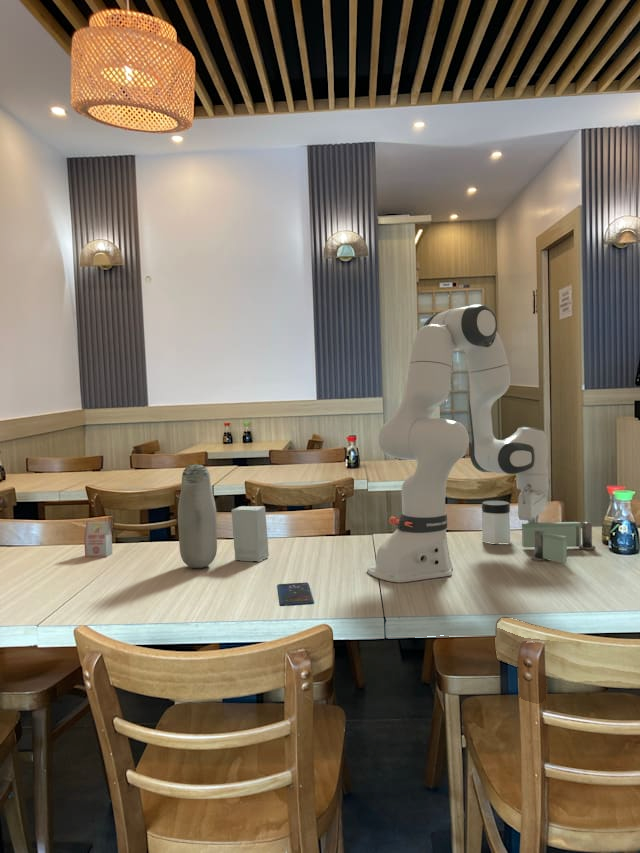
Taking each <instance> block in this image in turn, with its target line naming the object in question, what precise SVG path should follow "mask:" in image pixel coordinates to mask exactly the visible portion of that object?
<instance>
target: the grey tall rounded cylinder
mask: <svg viewBox="0 0 640 853" xmlns="http://www.w3.org/2000/svg"><path fill="white" fill-rule="evenodd" d="M180 486H181V487H180V488H181V489H180V495H179V500H178V505H177V526H178V539H179V540H178V544H179V554H180V557H181V560H182V562H183V563H184V564H185V565H186V566H187V567H189V568H193V569H203V568H206V567H208V566H210V565H211V564H212V563H213V561H214V560H215V558H216V556H217V551H218V537H217V536H218V534H217V533H218V531H217V528H218V526H217V525H218V524H217V521H218V520H217V508H216V501H215V496H214V493H213V489H212V482H211V474H210V472H209V470H208V468H207V467H206V466H204V465H202V464H195V463H194V464H190V465H188V466H187V467H185V469H183V472H182V474H181V485H180Z"/></svg>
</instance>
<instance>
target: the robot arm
mask: <svg viewBox="0 0 640 853" xmlns="http://www.w3.org/2000/svg"><path fill="white" fill-rule="evenodd" d="M497 330H498V323H497V319H496V316H495V314H494V312H493V311H492V310H491V309H490V308H489V306H487V305H485V304H484V305H483V304H472V305H469V306H462V307H456V308H450V309H447V310H445V311H441V312H438V313H436V314H433V315H431V316H430V317H428V318H427V320H425V322H424V325H423V326H422V327H420V328H419V329H418V330H417V333H416V334H415V337H414V339H413V340H414V341H413V344H412V347H411V352H410V358H409V366H408V373H407V380H406V385H405V386H406V387H405V392H404V394H403V398H402V399H401V402H400V404H399V407H398V408H397V409H396V411H395V413H394V414H393V416H392V417H391V418H390V419H389V420H387V421H386V422H385V423H384V424H383V425H382V426H381V428H380V430H379V434H378V444H379V447H380V450H381V451H382V452H383V454H385V455H386V456H389V457H391V458H394V459H398V460H406V461H416V462H417V463H416V467H415V471H414V473H413V475H411V476H409V477H407V479H405V480H404V481H403V484H402V485H401V511H402V512H401V514H400V516H399V518H398V517H396V516H390V518H389V520H388V521H389V524H390V525H394V526H396V530H395V531H394V532H393V533H392V534H391V535H389V537H387V539H386V540H385V541H384V542H383V543H382V544H380V546H378V548H377V553H376V559H375V560H376V561H375V564H373V565H369V566H367V570H366V571H367V573H368V574H369V575H371V576H373V577H375V578H377V579H380V580H384V581H387V582H393V583H408V582H415V581H420V580H422V581H423V580H428V579H434V578H435V579H436V578H443V577H448V576H449V577H451V576H452V575H453V574H452V573H453V568H454V567H453V564H452V560H451V556H450V550H449V545H448V544H449V543H448V537H447V529H448V515H447V513H446V487H447V481H448V479H449V478H448V477H449V475H450V472H451V471H452V469H453V467H454V466H455V465H456V464H457V462H458V461H459V460H460V459H462V458H463V457H464V456H465V455H466V453H467V452H468V450H469V444H470V436H469V431H468V429H466V426H464V424H463V423H462V422H459V421H455V420H452V419H447V418H431V417H432V414H433V413H434V412H435V410H436V409H437V408H438V407H439V406H440V405H442V404H443V403H445V402H446V401H447V400H448V397H449V396H450V390H451V389H450V388H451V380H452V379H451V378H452V370H453V369H452V368H453V357H454V356H453V355H454V354H453V353H454V351H455V350H462V351H463V352H464V354H465V360H466V367H467V368H466V369H467V371H468V378H469V394H468V412H469V422H470V432H471V444H470V445H471V446H470V452H469V453H470V454H469V456H470V462H471V463H472V466H473V467H474V468H475V469H476V470H478V471H479V472H482V473H495V474H505V475H516V476H515V478H516V480H515V481H516V484H515V485H516V489H517V490H520V493H519V495H518V503H517V517H518V520H520V521H527V523H539V518H540V514H541V513H542V512H543V511H544V510H546V509H547V507H548V498H549V497H548V496H549V486H550V485H551V479H550V477H549V469H548V465H547V463H548V460H549V459H548V458H549V453H548V451H549V449H548V440H547V436H546V432H544V430H543V429H542V428H538V427H529V426H520V427H518V428H517V430H516V431H515V432H514V433H512V434H511V435H510V436H508V437H506V438H504V439H497V438H496V437H495V435H494V432H493V430H494V429H493V421H492V407H493V405H494V403H495V402H496V401H497V400H499V399H500V398H502V396H503V395H505V394H506V393H507V392H508V390H509V387H510V385H511V371H510V365H509V360H508V357H507V352H506V350H505V346H504V343H503V339H501V336H500V334H499V332H498V331H497Z"/></svg>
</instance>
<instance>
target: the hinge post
mask: <svg viewBox="0 0 640 853" xmlns="http://www.w3.org/2000/svg"><path fill="white" fill-rule="evenodd" d="M579 548H581V549H580V550H582V549H585V550H584V551H595V550H596V546H595V545H593V523H592V521H581V546H580V547H578V549H579ZM594 549H595V550H594Z"/></svg>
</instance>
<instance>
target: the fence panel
mask: <svg viewBox="0 0 640 853" xmlns="http://www.w3.org/2000/svg"><path fill="white" fill-rule="evenodd" d="M542 537H543V558H545V559H549V560H550V561H553V562H557V563H561V564H566V563H568V552H567V551H568V549H567V548H568V547H567V537H566V536H561V535H557V534H552V533H547V532H546V533H542ZM549 560H548V561H549Z"/></svg>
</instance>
